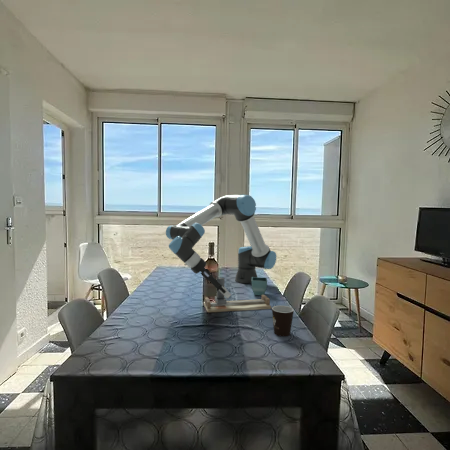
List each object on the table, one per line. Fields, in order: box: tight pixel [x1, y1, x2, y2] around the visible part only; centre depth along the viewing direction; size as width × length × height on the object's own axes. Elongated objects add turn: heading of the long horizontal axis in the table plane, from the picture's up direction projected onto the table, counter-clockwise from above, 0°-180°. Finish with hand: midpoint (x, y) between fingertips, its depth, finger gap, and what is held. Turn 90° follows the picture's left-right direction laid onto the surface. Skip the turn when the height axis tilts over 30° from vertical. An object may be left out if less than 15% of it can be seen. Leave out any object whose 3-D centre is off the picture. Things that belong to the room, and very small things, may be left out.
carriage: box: [214, 277, 228, 305], centre depth 160 cm, size 7×4×12 cm, turn 13°
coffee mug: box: [271, 305, 294, 338], centre depth 131 cm, size 12×9×10 cm
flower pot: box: [251, 276, 268, 296], centre depth 184 cm, size 9×9×9 cm
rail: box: [203, 294, 272, 313], centre depth 162 cm, size 12×32×4 cm, turn 103°
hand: (227, 293), depth 161 cm, fingers open, 9 cm apart
